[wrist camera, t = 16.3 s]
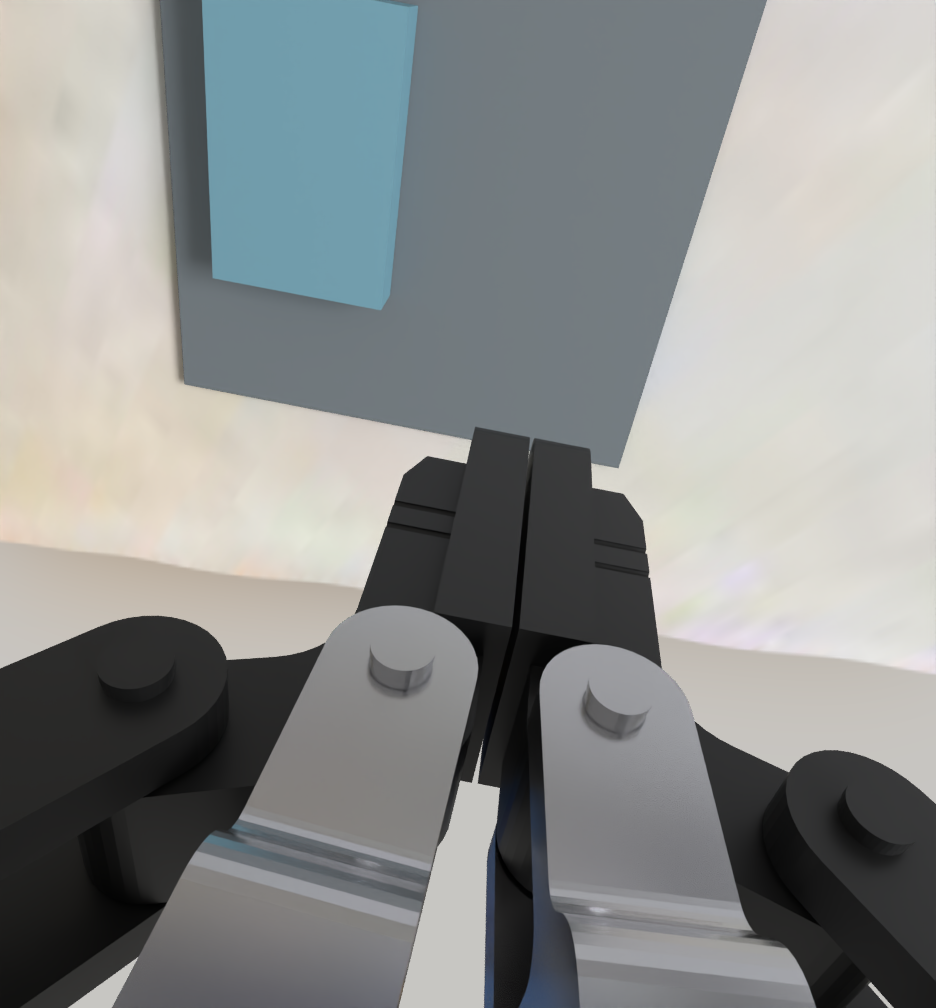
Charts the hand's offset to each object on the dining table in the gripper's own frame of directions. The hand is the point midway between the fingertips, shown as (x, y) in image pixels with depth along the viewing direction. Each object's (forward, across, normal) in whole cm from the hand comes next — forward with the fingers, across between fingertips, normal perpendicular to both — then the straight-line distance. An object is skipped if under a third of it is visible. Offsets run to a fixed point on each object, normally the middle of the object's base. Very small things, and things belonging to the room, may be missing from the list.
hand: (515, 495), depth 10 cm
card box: (+18, +5, 0) cm, 18 cm away
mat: (+19, +4, 0) cm, 19 cm away
